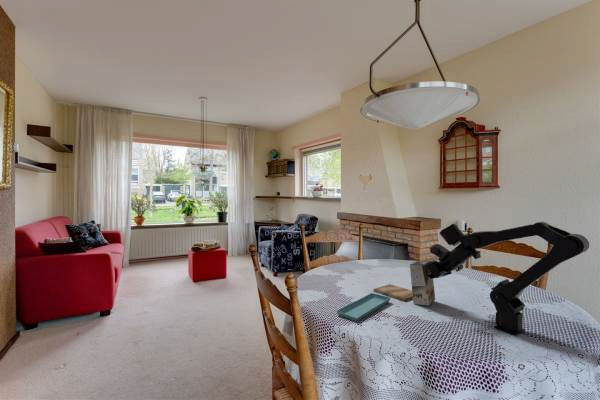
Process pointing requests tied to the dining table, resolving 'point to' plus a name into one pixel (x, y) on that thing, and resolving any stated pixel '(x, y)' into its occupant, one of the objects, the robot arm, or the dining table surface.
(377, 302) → the rectangular tray
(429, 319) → the dining table surface
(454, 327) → the dining table surface
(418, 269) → the coffee box
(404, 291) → the walnut board
